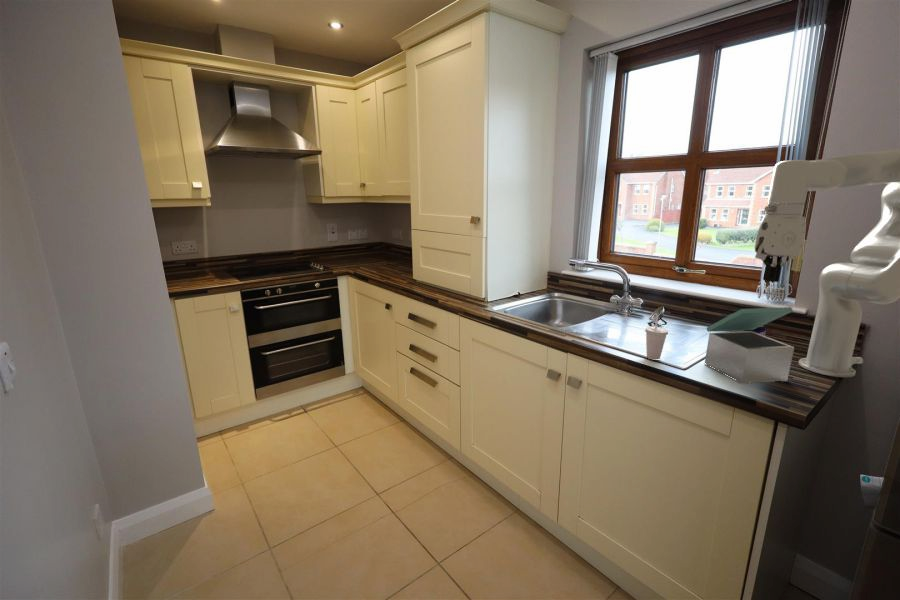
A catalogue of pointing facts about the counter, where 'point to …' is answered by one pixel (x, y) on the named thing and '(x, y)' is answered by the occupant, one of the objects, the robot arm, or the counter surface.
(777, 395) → the counter surface
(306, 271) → the counter surface
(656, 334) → the smoothie
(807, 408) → the counter surface
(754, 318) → the lid
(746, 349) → the grey open box
